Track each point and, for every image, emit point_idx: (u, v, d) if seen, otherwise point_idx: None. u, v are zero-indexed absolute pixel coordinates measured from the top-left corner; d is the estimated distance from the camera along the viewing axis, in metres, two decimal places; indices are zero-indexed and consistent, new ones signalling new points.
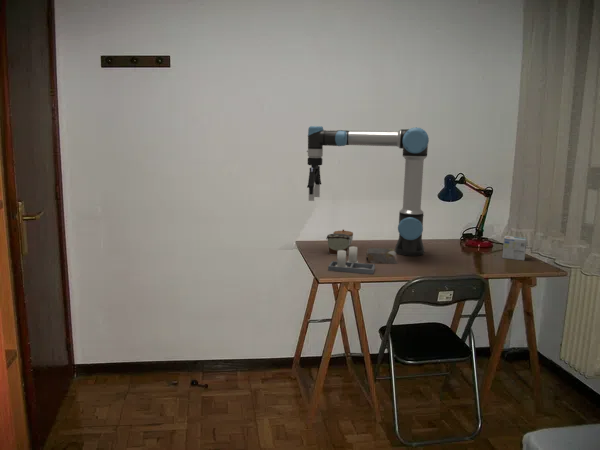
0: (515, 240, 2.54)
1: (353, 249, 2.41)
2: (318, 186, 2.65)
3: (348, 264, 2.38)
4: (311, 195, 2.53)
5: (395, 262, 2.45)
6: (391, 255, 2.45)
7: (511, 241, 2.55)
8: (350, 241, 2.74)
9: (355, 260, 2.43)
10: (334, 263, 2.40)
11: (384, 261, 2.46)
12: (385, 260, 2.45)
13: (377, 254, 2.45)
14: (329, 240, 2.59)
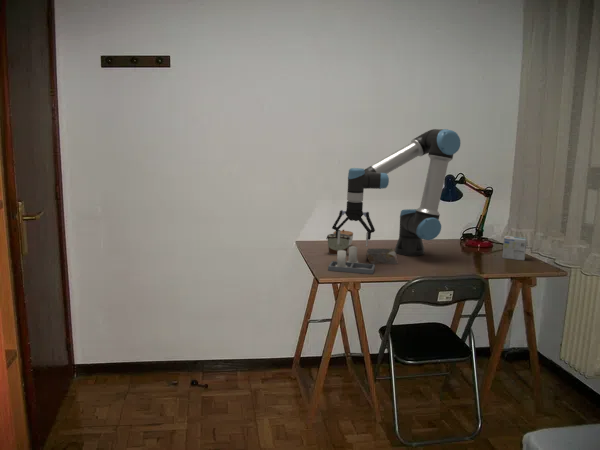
0: (515, 240, 2.54)
1: (353, 249, 2.41)
2: (366, 234, 2.39)
3: (348, 264, 2.38)
4: None
5: (395, 262, 2.45)
6: (391, 255, 2.44)
7: (511, 241, 2.55)
8: (350, 241, 2.74)
9: (355, 260, 2.43)
10: (334, 263, 2.40)
11: (384, 262, 2.45)
12: (385, 260, 2.45)
13: (377, 255, 2.44)
14: (329, 240, 2.59)
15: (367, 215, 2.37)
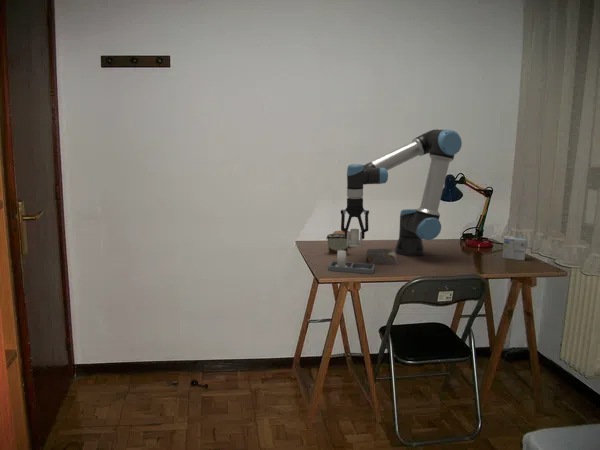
0: (515, 240, 2.54)
1: (354, 231, 2.40)
2: (360, 234, 2.40)
3: (348, 264, 2.38)
4: None
5: (395, 263, 2.44)
6: (391, 256, 2.43)
7: (511, 241, 2.55)
8: None
9: (357, 242, 2.41)
10: (334, 263, 2.40)
11: (384, 262, 2.44)
12: (385, 261, 2.44)
13: (377, 255, 2.43)
14: (329, 240, 2.59)
15: (367, 214, 2.37)
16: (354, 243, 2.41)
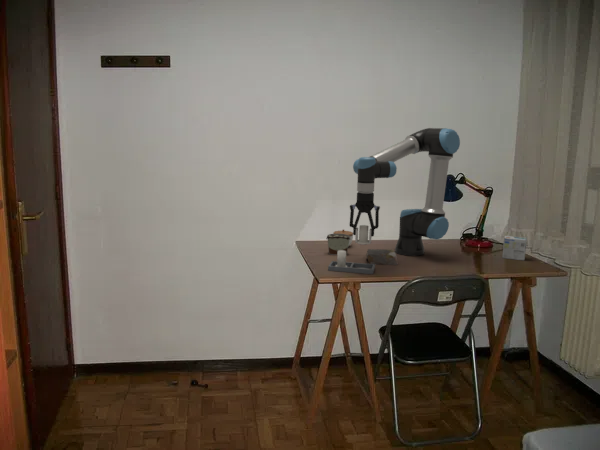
0: (515, 240, 2.54)
1: (364, 228, 2.27)
2: None
3: (348, 264, 2.38)
4: None
5: (395, 263, 2.43)
6: (391, 256, 2.43)
7: (511, 241, 2.55)
8: (350, 241, 2.74)
9: (366, 239, 2.29)
10: (334, 263, 2.40)
11: (384, 262, 2.43)
12: (385, 261, 2.43)
13: (377, 255, 2.43)
14: (329, 240, 2.59)
15: (377, 209, 2.25)
16: (363, 240, 2.28)
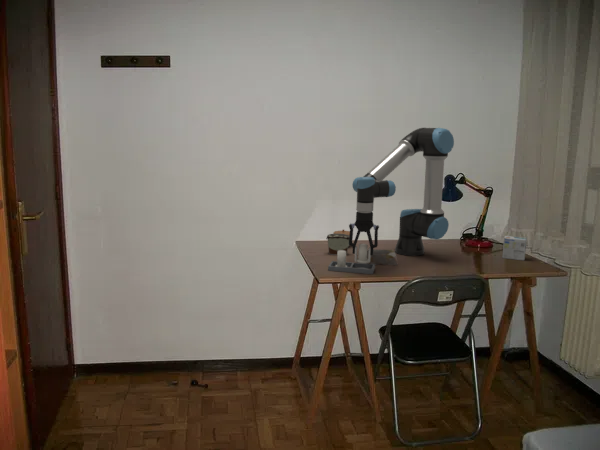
0: (515, 240, 2.54)
1: (363, 247, 2.29)
2: None
3: (348, 264, 2.38)
4: (355, 255, 2.32)
5: (395, 264, 2.43)
6: (391, 256, 2.42)
7: (511, 241, 2.55)
8: None
9: (365, 258, 2.30)
10: (334, 263, 2.40)
11: (384, 263, 2.43)
12: (385, 261, 2.43)
13: (377, 256, 2.42)
14: (329, 240, 2.59)
15: (376, 229, 2.27)
16: (362, 259, 2.30)
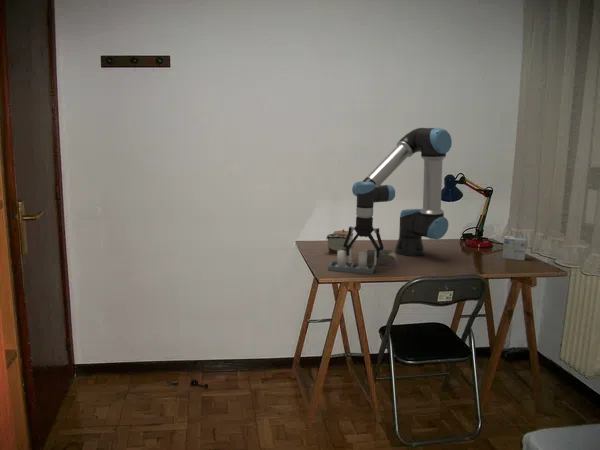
0: (515, 240, 2.54)
1: (363, 255, 2.30)
2: None
3: (348, 264, 2.38)
4: None
5: (395, 264, 2.42)
6: (391, 257, 2.42)
7: (511, 241, 2.55)
8: (350, 241, 2.74)
9: (365, 266, 2.31)
10: (334, 263, 2.40)
11: (384, 263, 2.42)
12: (385, 261, 2.42)
13: None
14: (329, 240, 2.59)
15: (377, 232, 2.27)
16: (362, 267, 2.31)
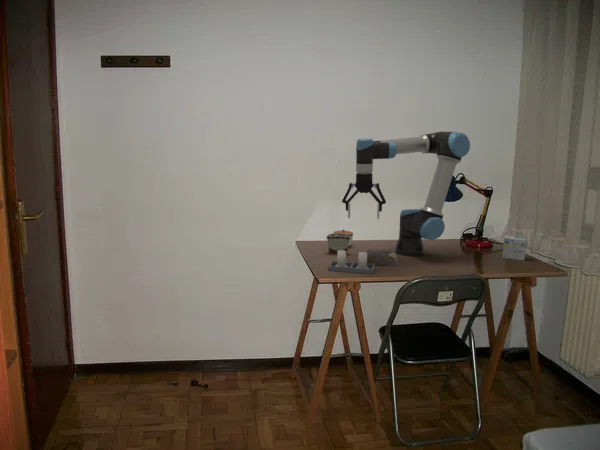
0: (515, 240, 2.54)
1: (363, 255, 2.30)
2: None
3: (348, 264, 2.38)
4: (348, 212, 2.38)
5: (395, 264, 2.42)
6: (391, 257, 2.41)
7: (511, 241, 2.55)
8: (350, 241, 2.74)
9: (365, 266, 2.31)
10: (334, 263, 2.40)
11: (384, 263, 2.42)
12: (385, 262, 2.42)
13: (377, 256, 2.41)
14: (329, 240, 2.59)
15: (377, 186, 2.32)
16: (362, 267, 2.31)
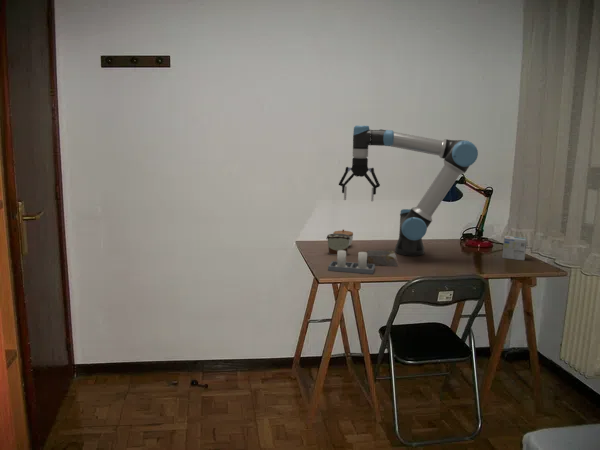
0: (515, 240, 2.54)
1: (363, 255, 2.30)
2: None
3: (348, 264, 2.38)
4: None
5: (395, 265, 2.41)
6: (391, 257, 2.40)
7: (511, 241, 2.55)
8: (350, 241, 2.74)
9: (365, 266, 2.31)
10: (334, 263, 2.40)
11: (384, 264, 2.41)
12: (385, 262, 2.41)
13: (377, 257, 2.41)
14: (329, 240, 2.59)
15: (372, 170, 2.47)
16: (362, 267, 2.31)
